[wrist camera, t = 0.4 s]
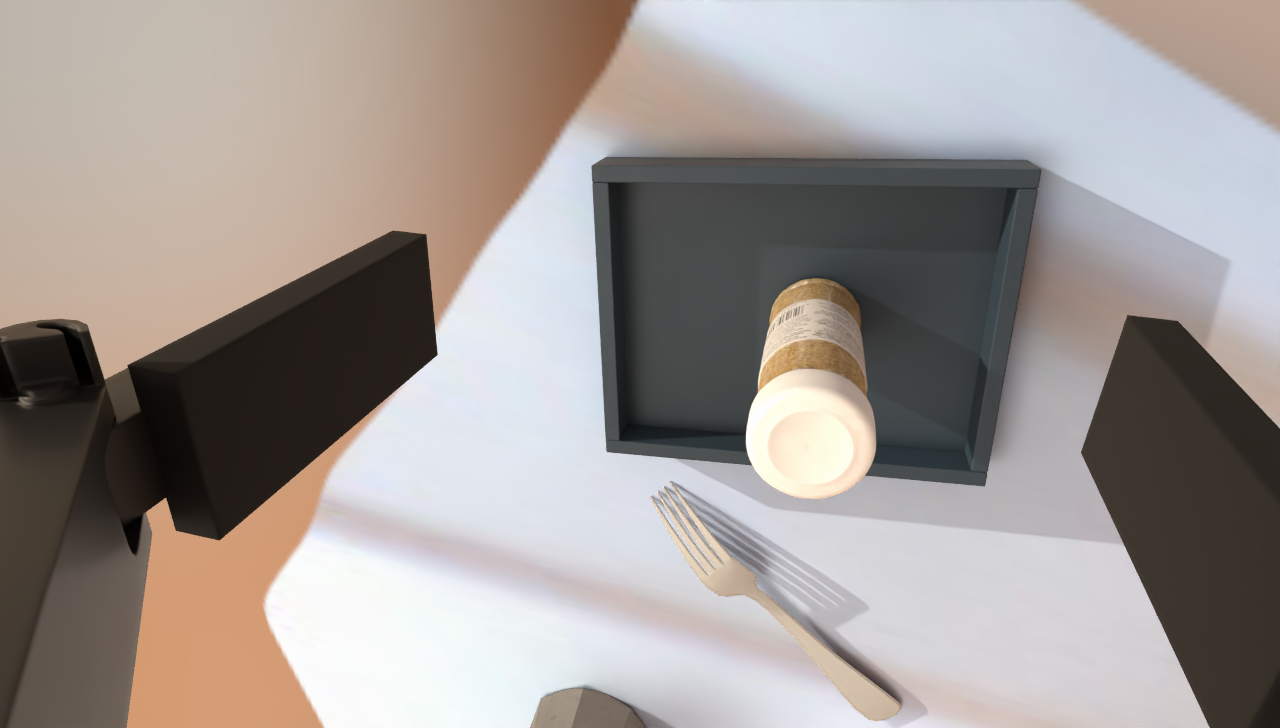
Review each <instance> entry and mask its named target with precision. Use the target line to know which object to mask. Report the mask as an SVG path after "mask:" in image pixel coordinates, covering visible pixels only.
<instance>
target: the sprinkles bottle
mask: <svg viewBox="0 0 1280 728" xmlns="http://www.w3.org/2000/svg"><path fill="white" fill-rule="evenodd" d="M860 326H861V317H860V309H859V305H858V304H857V302H856V301H855V299H854V297H853V296H852V294H851V293H850V292H849V291H848V290H847V289H846V288H845V287H843V286H841V285H840V284H838V283H837V282H835V281H831V280H827V279H819V278H812V279H805V280H800V281H798V282H796V283H795V284H792V285H790V286H789V287H788V288H787V289H786V290H784V291H782V293H781V294H780V295H779V296H778V298H777V299H776V301H775V303H774V304H773V306H772V310H771V315H770V327H769V330H768V333H767V337H766V342H765V347H764V352H763V357H762V362H761V368H760V373H759V379H758V394H757V396H756V397H755V399H754V401H753V403H752V406H751V409H750V412H749V418H748V424H747V431H746V447H747V453H748V456H749V459H750V461H751V463H752V465H753V467H754V468H755V470H756V471H757V473H758V474H759V475H760V476H761V477H762V478H763V479H764V480H765V481H766V482H767V483H768V484H769V485H771V486H772V487H774V488H775V489H777V490H779V491H781V492H783V493H785V494H788V495H791V496H794V497H799V498H806V499H821V498H827V497H832V496H835V495H838V494H841V493H843V492H845V491H847V490H849V489H850V488H852V487H853V486H855V485H856V484H857V483H858V482H859V481H860V480H861V479H862V478H863V477H864V476H865V475H866V473H867V472H868V470H869V468H870V467H871V465H872V462H873V460H874V456H875V452H876V428H875V420H874V415H873V410H872V407H871V405H870V403H869V401H868V399H867V395H866V393H867V378H866V369H865V359H864V350H863V342H862V335H861V331H860Z"/></svg>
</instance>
